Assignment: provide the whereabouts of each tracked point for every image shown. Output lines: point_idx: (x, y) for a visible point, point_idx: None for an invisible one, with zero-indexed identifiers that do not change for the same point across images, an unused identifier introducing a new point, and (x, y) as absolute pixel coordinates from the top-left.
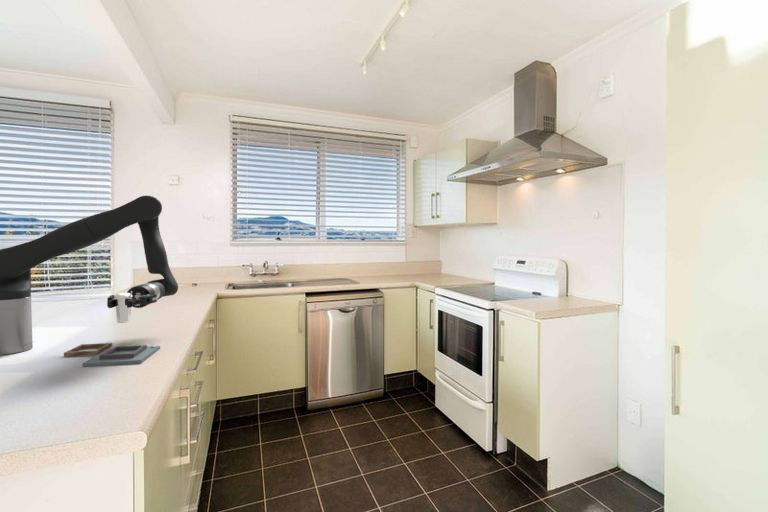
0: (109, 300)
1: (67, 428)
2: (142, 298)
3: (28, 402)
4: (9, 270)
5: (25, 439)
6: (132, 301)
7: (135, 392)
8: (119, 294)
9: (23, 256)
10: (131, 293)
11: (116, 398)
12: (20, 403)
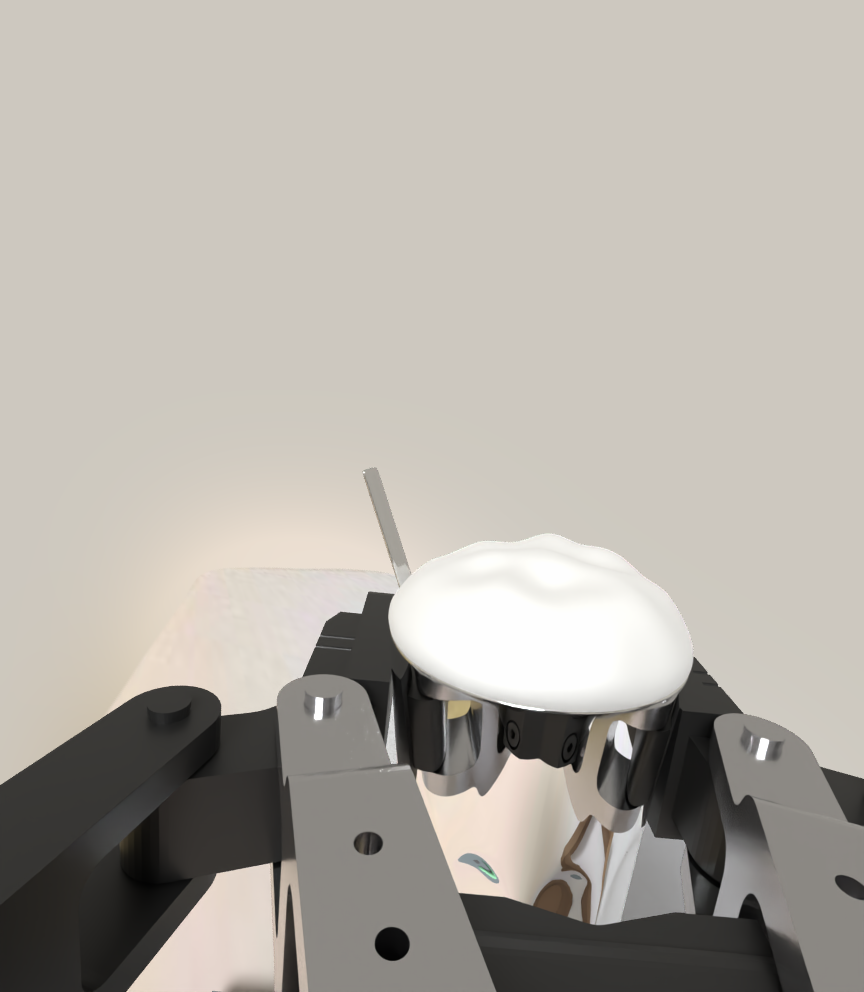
0: (859, 788)
1: (336, 592)
2: (200, 706)
3: None
4: None
5: (391, 586)
6: (339, 617)
7: (221, 671)
8: (545, 535)
9: None
10: (378, 522)
11: (272, 656)
12: None
